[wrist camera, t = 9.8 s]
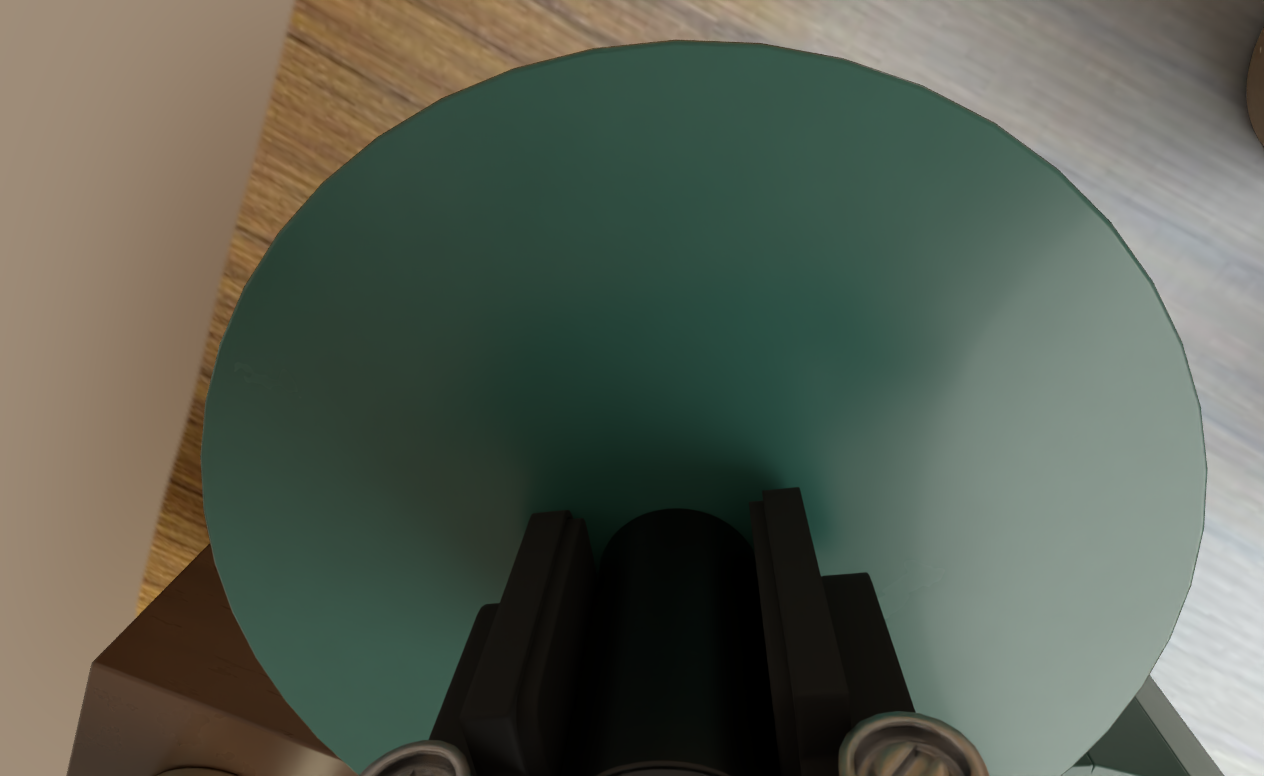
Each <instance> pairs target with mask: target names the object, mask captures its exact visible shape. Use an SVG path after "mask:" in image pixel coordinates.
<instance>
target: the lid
mask: <svg viewBox="0 0 1264 776" xmlns="http://www.w3.org/2000/svg"><path fill="white" fill-rule="evenodd" d="M200 460H201V476H202V492H203V508H204V515H205V520H206V525H207V529H208V534H209V539H210V544H211V548H212V553H213V558H214V563H215V566H216V568H217V571H218V574H219V577H220V580H221V582H222V585H223V588H224V591H225V593H226V596H227V599H228V602H229V605H230V607H231V610H232V613H233V615H234V617H235V619H236V620H237V622H238V624H239V626H240V628H241V630H242V632H243V634H244V636H245V638H246V640H247V642H248V644H249V646H250V648H251V650H252V652H253V653H254V655H255V657H256V659H257V660H258V662H259V663H260V665H261V666H262V668H263V669H264V671H265V672H266V674H267V675H268V677H269V678H270V679H271V681H272V682H273V684H274V685H275V687H276V688H277V690H278V691H279V693H280V694H281V696H282V697H283V699H284V700H285V701H286V702H287V703H288V705H289V706H290V707H291V708H292V709H293V710H294V712H295V713H296V714H297V715H298V716H299V717H300V718H301V720H302V721H303V722H304V723H305V724H306V725H307V727H308V728H309V729H310V730H311V731H312V732H313V733H314V735H315V736H316V737H317V738H318V739H319V740H320V741H321V742H322V743H323V744H324V745H325V746H327V747H328V748H329V749H330V750H331V751H332V752H333V753H334V754H335V755H336V756H337V757H338V758H340V759H341V760H342V761H343V762H344V763H345V764H346V765H347V766H348V767H349V768H350V769H351V770H352V771H354V772H355V773H356V774H357V775H360V774H361V773H362V771H363V770H364V769H365V768H366V767H367V766H368V765H369V764H371V763H372V762H374V761H375V760H376V759H378V758H379V757H381V756H382V755H383V754H385V753H386V752H389V751H391V750H393V749H395V748H397V747H399V746H402V745H404V744H407V743H412V742H416V741H421V740H429V737H430V734H431V732H432V729H433V727H434V724H435V722H436V719H437V716H438V714H439V711H440V709H441V706H442V704H443V701H444V698H445V696H446V693H447V691H448V688H449V686H450V683H451V680H452V678H453V675H454V673H455V670H456V668H457V665H458V662H459V660H460V657H461V655H462V652H463V650H464V647H465V645H466V642H467V639H468V637H469V634H470V632H471V629H472V627H473V624H474V621H475V619H476V616H477V614H478V612H479V610H480V608H481V607H482V606H484V605H485V604H493V603H500V601H501V598H502V595H503V592H504V590H505V587H506V584H507V581H508V578H509V576H510V573H511V570H512V567H513V564H514V562H515V559H516V556H517V553H518V550H519V548H520V545H521V542H522V539H523V536H524V533H525V531H526V528H527V525H528V522H529V519H530V517H531V515H532V514H533V513H540V512H550V511H560V510H569V511H570V512H571V514H572V516H573V519H577V518H583V519H584V520H585V522H586V526H587V530H588V535H589V539H590V544H591V549H592V554H593V558H594V563H595V568H596V572H597V577H598V579H597V584H596V590H595V595H594V600H593V606H592V611H591V617H590V622H589V627H588V633H587V638H586V643H585V649H584V654H583V660H582V665H581V670H580V676H579V681H578V686H577V692H576V697H575V703H574V708H573V713H572V719H571V724H570V729H569V735H568V740H567V746H566V751H565V756H564V762H563V767H562V772H561V776H781V772H780V763H779V755H778V746H777V738H776V729H775V721H774V713H773V704H772V696H771V687H770V679H769V670H768V662H767V653H766V645H765V637H764V628H763V620H762V611H761V603H760V594H759V586H758V577H757V569H756V560H755V552H754V543H753V535H752V526H751V518H750V509H749V502H751V501H761V500H763V497H762V491H763V490H773V489H783V488H793V487H799V488H800V491H801V495H802V500H803V504H804V508H805V512H806V516H807V520H808V525H809V529H810V533H811V537H812V541H813V545H814V549H815V554H816V558H817V562H818V566H819V570H820V574H821V576H827V575H839V574H851V573H863V572H867V573H868V574H869V576H870V578H871V581H872V583H873V586H874V589H875V592H876V595H877V598H878V601H879V604H880V607H881V610H882V613H883V616H884V619H885V622H886V625H887V628H888V631H889V634H890V637H891V640H892V643H893V646H894V649H895V652H896V655H897V658H898V661H899V664H900V667H901V670H902V673H903V676H904V679H905V682H906V685H907V688H908V691H909V694H910V697H911V700H912V703H913V706H914V709H915V712H916V713H921V714H924V715H927V716H930V717H933V718H936V719H939V720H942V721H943V722H945V723H947V724H949V725H950V726H952V727H954V728H955V729H957V730H959V731H960V732H961V733H962V734H963V735H964V736H965V737H966V738H967V739H968V740H969V741H970V742H971V743H972V744H973V745H975V746H976V748H977V750H978V752H979V753H980V755H981V757H982V759H983V761H984V763H985V764H986V767H987V770H988V773H989V776H1062V775H1063V774H1064V773H1066V772H1067V771H1068V770H1069V769H1071V768H1072V767H1073V766H1074V765H1075V764H1076V763H1077V762H1078V761H1079V760H1080V759H1081V758H1082V757H1083V756H1084V755H1085V754H1086V753H1087V752H1088V751H1089V750H1090V749H1091V748H1092V747H1093V746H1094V745H1095V744H1096V743H1097V742H1098V741H1099V740H1100V739H1101V738H1102V737H1103V736H1104V735H1105V734H1106V733H1107V732H1108V731H1109V729H1110V728H1111V727H1112V725H1113V724H1114V723H1115V722H1116V720H1117V719H1118V718H1119V716H1120V715H1121V714H1122V713H1123V711H1124V710H1125V709H1126V707H1127V706H1128V705H1129V703H1130V702H1131V701H1132V700H1133V698H1134V697H1135V696H1136V694H1137V693H1138V692H1139V690H1140V689H1141V688H1142V687H1143V685H1144V683H1145V681H1146V680H1147V678H1148V676H1149V674H1150V673H1151V671H1152V669H1153V667H1154V666H1155V664H1156V662H1157V660H1158V659H1159V657H1160V655H1161V653H1162V652H1163V650H1164V648H1165V646H1166V645H1167V643H1168V641H1169V639H1170V638H1171V635H1172V632H1173V630H1174V627H1175V625H1176V622H1177V620H1178V617H1179V615H1180V612H1181V610H1182V607H1183V604H1184V602H1185V599H1186V597H1187V594H1188V592H1189V589H1190V587H1191V583H1192V579H1193V574H1194V570H1195V565H1196V561H1197V557H1198V552H1199V548H1200V543H1201V539H1202V534H1203V530H1204V516H1205V499H1206V482H1207V461H1206V452H1205V443H1204V434H1203V425H1202V416H1201V407H1200V403H1199V400H1198V396H1197V393H1196V389H1195V386H1194V382H1193V379H1192V375H1191V372H1190V368H1189V365H1188V361H1187V358H1186V354H1185V351H1184V347H1183V344H1182V341H1181V339H1180V337H1179V335H1178V333H1177V331H1176V329H1175V327H1174V324H1173V322H1172V320H1171V318H1170V316H1169V314H1168V312H1167V310H1166V308H1165V306H1164V304H1163V302H1162V300H1161V298H1160V295H1159V293H1158V291H1157V289H1156V287H1155V285H1154V283H1153V281H1152V280H1151V278H1150V277H1149V275H1148V274H1147V272H1146V271H1145V270H1144V268H1143V267H1142V265H1141V264H1140V263H1139V261H1138V260H1137V258H1136V257H1135V256H1134V254H1133V253H1132V251H1131V250H1130V249H1129V247H1128V246H1127V244H1126V243H1125V241H1124V240H1123V239H1122V237H1121V236H1120V234H1119V233H1118V232H1117V230H1116V229H1115V227H1114V226H1113V225H1112V223H1111V222H1110V221H1109V220H1108V219H1107V218H1106V217H1105V216H1104V215H1103V214H1102V213H1101V212H1100V211H1099V210H1098V209H1097V208H1096V207H1095V206H1094V205H1093V204H1092V203H1091V202H1090V201H1089V200H1088V199H1087V198H1086V197H1085V196H1084V195H1083V194H1082V193H1081V192H1080V191H1079V190H1078V189H1077V188H1076V187H1075V186H1074V185H1073V184H1072V183H1071V182H1070V181H1069V180H1068V179H1067V178H1066V177H1065V176H1064V175H1063V174H1062V173H1061V172H1060V171H1059V170H1058V169H1057V168H1056V167H1054V166H1053V165H1052V164H1050V163H1049V162H1048V161H1046V160H1045V159H1044V158H1042V157H1041V156H1039V155H1038V154H1037V153H1035V152H1034V151H1033V150H1031V149H1030V148H1029V147H1027V146H1026V145H1024V144H1023V143H1022V142H1020V141H1019V140H1018V139H1016V138H1015V137H1013V136H1012V135H1011V134H1009V133H1008V132H1007V131H1005V130H1004V129H1003V128H1001V127H1000V126H998V125H997V124H996V123H994V122H992V121H990V120H988V119H986V118H984V117H982V116H981V115H979V114H977V113H975V112H973V111H971V110H969V109H967V108H965V107H963V106H961V105H959V104H957V103H955V102H954V101H952V100H950V99H948V98H946V97H944V96H942V95H940V94H938V93H936V92H934V91H932V90H930V89H928V88H927V87H925V86H923V85H920V84H917V83H914V82H911V81H908V80H905V79H902V78H899V77H896V76H893V75H890V74H887V73H885V72H882V71H879V70H876V69H873V68H870V67H867V66H864V65H861V64H858V63H855V62H852V61H849V60H846V59H843V58H838V57H833V56H827V55H822V54H816V53H811V52H806V51H800V50H795V49H790V48H784V47H779V46H773V45H768V44H763V43H744V42H719V41H694V40H669V41H659V42H650V43H640V44H630V45H621V46H611V47H601V48H593V49H589V50H585V51H581V52H577V53H573V54H569V55H565V56H561V57H557V58H553V59H549V60H545V61H541V62H537V63H533V64H529V65H525V66H521V67H517V68H514V69H511V70H509V71H506V72H504V73H502V74H499V75H497V76H494V77H492V78H489V79H487V80H485V81H482V82H480V83H477V84H475V85H473V86H470V87H468V88H465V89H463V90H461V91H458V92H456V93H453V94H451V95H448V96H446V97H444V98H441V99H440V100H438V101H436V102H435V103H433V104H431V105H430V106H428V107H426V108H425V109H423V110H421V111H420V112H418V113H416V114H415V115H413V116H411V117H410V118H408V119H406V120H405V121H403V122H401V123H400V124H398V125H396V126H395V127H393V128H392V129H390V130H388V131H387V132H385V133H383V134H382V135H380V136H378V137H377V138H376V139H374V140H373V141H372V142H371V143H370V144H368V145H367V146H366V147H365V148H364V149H362V150H361V151H360V152H359V153H358V154H356V155H355V156H354V157H353V158H352V159H350V160H349V161H348V162H347V163H346V164H344V165H343V166H342V167H341V168H340V169H338V170H337V171H336V172H335V173H334V174H332V175H331V176H330V177H329V178H328V179H326V180H325V181H324V182H323V183H322V184H321V185H320V186H319V187H318V188H317V190H316V191H315V192H314V193H313V194H312V195H311V196H310V198H309V199H308V200H307V201H306V202H305V203H304V204H303V205H302V207H301V208H300V209H299V210H298V211H297V212H296V213H295V215H294V216H293V217H292V218H291V219H290V220H289V221H288V223H287V224H286V225H285V226H284V227H283V228H282V229H281V231H280V232H279V233H278V234H277V236H276V237H275V239H274V241H273V242H272V244H271V245H270V247H269V248H268V250H267V252H266V253H265V255H264V256H263V258H262V260H261V261H260V263H259V264H258V266H257V267H256V269H255V271H254V272H253V274H252V275H251V277H250V279H249V280H248V282H247V283H246V285H245V286H244V288H243V291H242V293H241V295H240V298H239V300H238V302H237V305H236V307H235V309H234V312H233V314H232V317H231V319H230V321H229V324H228V326H227V328H226V331H225V333H224V335H223V338H222V340H221V342H220V345H219V349H218V353H217V357H216V361H215V365H214V369H213V373H212V377H211V381H210V385H209V389H208V393H207V397H206V401H205V411H204V422H203V433H202V445H201V456H200Z"/></svg>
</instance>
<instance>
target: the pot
mask: <svg viewBox="0 0 1264 776" xmlns="http://www.w3.org/2000/svg"><path fill="white" fill-rule="evenodd" d="M1062 776H1224V775H1223V773H1222V772H1221V771H1220V769H1219V768H1218V767H1217V765H1216V764H1215V763H1214V761H1213V760H1212V759H1211V757H1210V756H1209V754H1208V753H1207V752H1206V750H1205V749H1204V748H1203V746H1202V745H1201V744H1200V742H1199V741H1198V740H1197V738H1196V737H1195V736H1194V734H1193V733H1192V731H1191V730H1190V729H1189V727H1188V726H1187V725H1186V723H1185V722H1184V721H1183V719H1182V718H1181V717H1180V715H1179V714H1178V713H1177V711H1176V710H1175V709H1174V707H1173V706H1172V704H1171V703H1170V702H1169V700H1168V699H1167V698H1166V696H1165V695H1164V694H1163V692H1162V691H1161V690H1160V688H1159V687H1158V686H1157V684H1156V683H1155V682H1154V680H1153V679H1152V677H1151V676H1150V675H1149V676H1148V678H1147V680H1146V681H1145V683H1144V685H1143V687H1142V688H1141V689H1140V690H1139V692H1138V693H1137V694H1136V696H1135V697H1134V698H1133V700H1132V701H1131V702H1130V703H1129V705H1128V706H1127V707H1126V709H1125V710H1124V711H1123V713H1122V714H1121V715H1120V716H1119V718H1118V719H1117V720H1116V722H1115V723H1114V724H1113V725H1112V727H1111V728H1110V729H1109V731H1108V732H1107V733H1106V734H1105V735H1104V736H1103V737H1102V738H1101V739H1100V740H1099V741H1098V742H1097V743H1096V744H1095V745H1094V746H1093V747H1092V748H1091V749H1090V750H1089V751H1088V752H1087V753H1086V754H1085V755H1084V756H1083V757H1082V758H1081V759H1080V760H1079V761H1078V762H1077V763H1076V764H1075V765H1074V766H1073V767H1072V768H1071V769H1069V770H1068V771H1067V772H1066V773H1064V774H1063V775H1062Z"/></svg>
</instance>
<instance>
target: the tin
mask: <svg viewBox="0 0 1264 776" xmlns="http://www.w3.org/2000/svg"><path fill="white" fill-rule="evenodd" d="M157 776H237V775H234V774H231V773H227V772H224V771H220V770H214V769H208V768H180V769H174V770H170V771H166V772H164V773H161V774H159V775H157Z"/></svg>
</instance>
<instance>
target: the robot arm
mask: <svg viewBox="0 0 1264 776" xmlns="http://www.w3.org/2000/svg"><path fill="white" fill-rule="evenodd" d="M762 497H763V500H761V501H751V502H749V509H750V518H751V526H752V535H753V543H754V552H755V560H756V569H757V577H758V586H759V594H760V603H761V611H762V620H763V628H764V637H765V645H766V653H767V662H768V670H769V679H770V687H771V696H772V704H773V713H774V721H775V729H776V738H777V746H778V755H779V763H780V772H781V776H989V773H988V770H987V767H986V764H985V763H984V761H983V759H982V757H981V755H980V753H979V752H978V750H977V748H976V746H975V745H973V744H972V743H971V742H970V741H969V740H968V739H967V738H966V737H965V736H964V735H963V734H962V733H961V732H960V731H959V730H957V729H955V728H954V727H952V726H950V725H949V724H947V723H945V722H943V721H942V720H939V719H936V718H933V717H930V716H927V715H924V714H921V713H916V712H915V709H914V706H913V703H912V700H911V697H910V694H909V691H908V688H907V685H906V682H905V679H904V676H903V673H902V670H901V667H900V664H899V661H898V658H897V655H896V652H895V649H894V646H893V643H892V640H891V637H890V634H889V631H888V628H887V625H886V622H885V619H884V616H883V613H882V610H881V607H880V604H879V601H878V598H877V595H876V592H875V589H874V586H873V583H872V581H871V578H870V576H869V574H868V573H867V572H863V573H851V574H839V575H827V576H821V574H820V570H819V566H818V562H817V558H816V554H815V549H814V545H813V541H812V537H811V533H810V529H809V525H808V520H807V516H806V512H805V508H804V504H803V500H802V495H801V491H800V488H799V487H793V488H783V489H773V490H763V491H762ZM597 579H598V577H597V572H596V568H595V563H594V558H593V554H592V549H591V544H590V539H589V535H588V530H587V526H586V522H585V520H584V519H583V518H577V519H573V516H572V514H571V512H570V511H569V510H560V511H550V512H540V513H533V514H532V515H531V517H530V519H529V522H528V525H527V528H526V531H525V533H524V536H523V539H522V542H521V545H520V548H519V550H518V553H517V556H516V559H515V562H514V564H513V567H512V570H511V573H510V576H509V578H508V581H507V584H506V587H505V590H504V592H503V595H502V598H501V601H500V603H493V604H485V605H484V606H482V607H481V608H480V610H479V612H478V614H477V616H476V619H475V621H474V624H473V627H472V629H471V632H470V634H469V637H468V639H467V642H466V645H465V647H464V650H463V652H462V655H461V657H460V660H459V662H458V665H457V668H456V670H455V673H454V675H453V678H452V680H451V683H450V686H449V688H448V691H447V693H446V696H445V698H444V701H443V704H442V706H441V709H440V711H439V714H438V716H437V719H436V722H435V724H434V727H433V729H432V732H431V734H430V737H429V740H421V741H416V742H412V743H407V744H404V745H402V746H399V747H397V748H395V749H393V750H391V751H389V752H386V753H385V754H383V755H382V756H381V757H379V758H378V759H376V760H375V761H374V762H372V763H371V764H369V765H368V766H367V767H366V768H365V769H364V770H363V771H362V773H361V774H360V775H359V776H561V772H562V767H563V762H564V756H565V751H566V746H567V740H568V735H569V729H570V724H571V719H572V713H573V708H574V703H575V697H576V692H577V686H578V681H579V676H580V670H581V665H582V660H583V654H584V649H585V643H586V638H587V633H588V627H589V622H590V617H591V611H592V606H593V600H594V595H595V590H596V584H597Z"/></svg>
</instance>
